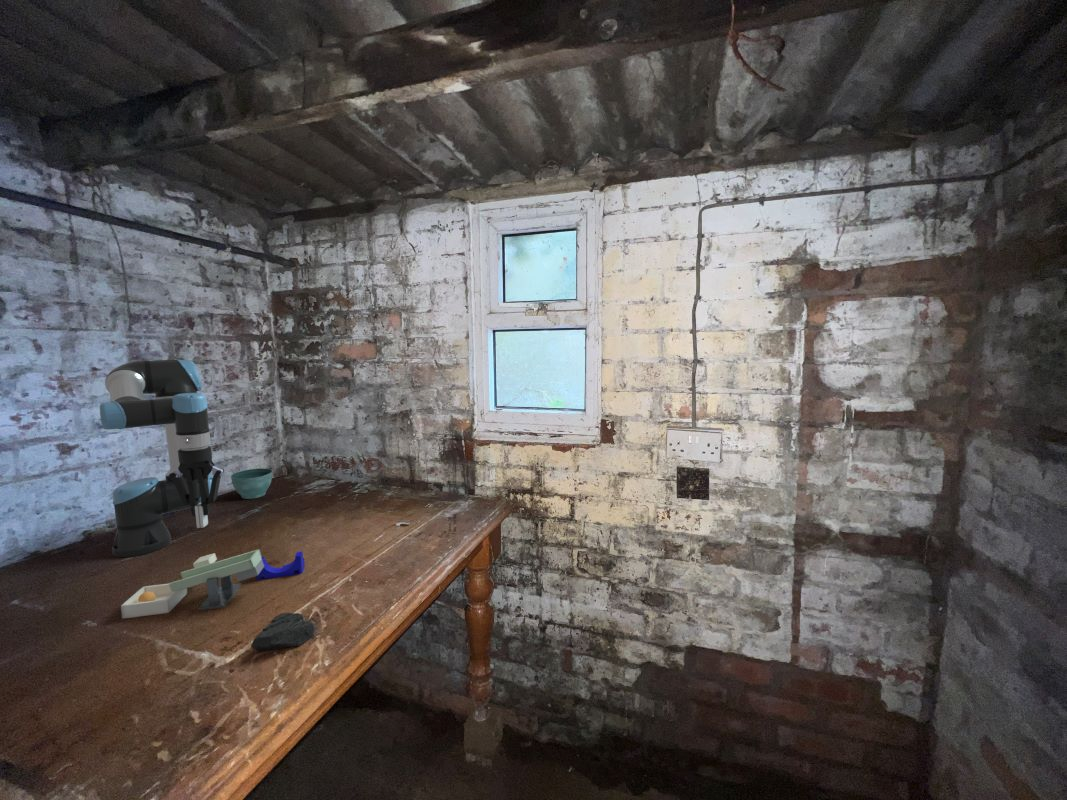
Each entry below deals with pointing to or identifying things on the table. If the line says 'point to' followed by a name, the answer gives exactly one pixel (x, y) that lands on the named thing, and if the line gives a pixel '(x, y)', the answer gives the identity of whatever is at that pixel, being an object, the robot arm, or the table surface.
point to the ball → (146, 597)
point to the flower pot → (252, 482)
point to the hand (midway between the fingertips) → (202, 525)
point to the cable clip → (283, 568)
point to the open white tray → (160, 605)
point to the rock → (284, 632)
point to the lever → (220, 569)
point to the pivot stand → (219, 592)
